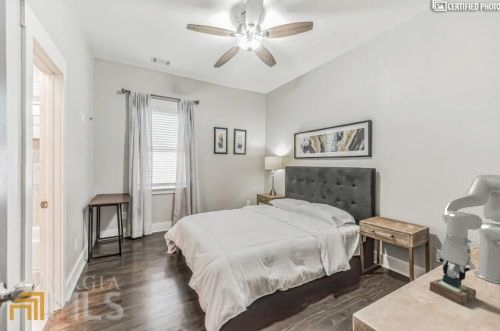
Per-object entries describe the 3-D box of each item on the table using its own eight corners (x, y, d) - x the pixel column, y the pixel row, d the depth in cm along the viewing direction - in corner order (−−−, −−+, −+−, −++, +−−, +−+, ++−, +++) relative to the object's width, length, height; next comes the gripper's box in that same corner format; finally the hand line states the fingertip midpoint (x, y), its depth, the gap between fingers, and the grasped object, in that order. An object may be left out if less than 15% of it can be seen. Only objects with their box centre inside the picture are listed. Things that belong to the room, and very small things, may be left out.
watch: (462, 284, 107) (466, 263, 106) (455, 288, 103) (458, 266, 102) (448, 278, 112) (451, 257, 111) (440, 281, 108) (443, 260, 107)
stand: (444, 285, 114) (445, 276, 114) (475, 298, 104) (476, 289, 104) (429, 290, 109) (430, 281, 109) (460, 305, 98) (461, 295, 98)
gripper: (484, 245, 100) (481, 284, 100) (439, 233, 115) (436, 267, 115) (476, 246, 96) (473, 287, 97) (431, 234, 112) (428, 269, 112)
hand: (453, 276), depth 106 cm, fingers open, 5 cm apart
